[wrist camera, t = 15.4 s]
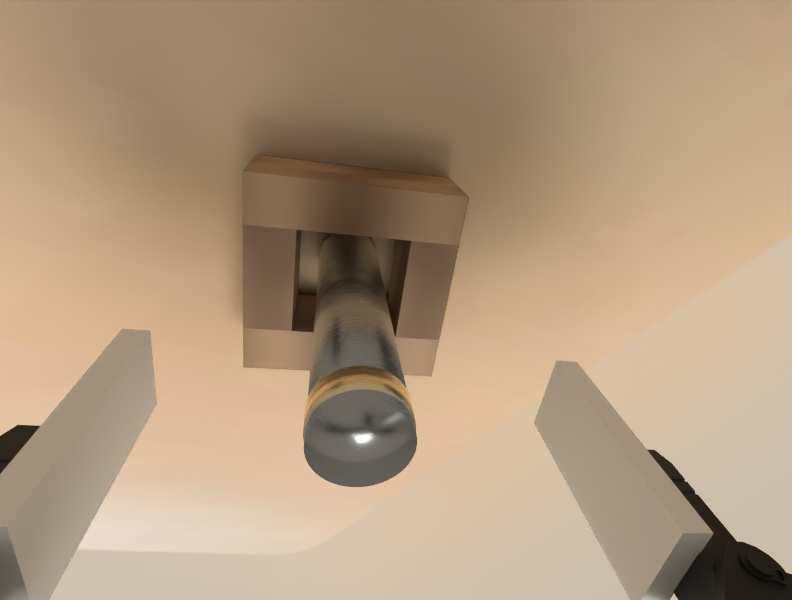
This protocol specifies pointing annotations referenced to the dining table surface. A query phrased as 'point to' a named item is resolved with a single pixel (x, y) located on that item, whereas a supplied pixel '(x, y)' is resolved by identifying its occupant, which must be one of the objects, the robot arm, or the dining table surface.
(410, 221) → the square wooden frame
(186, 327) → the dining table surface
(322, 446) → the metal cylinder
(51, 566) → the robot arm
